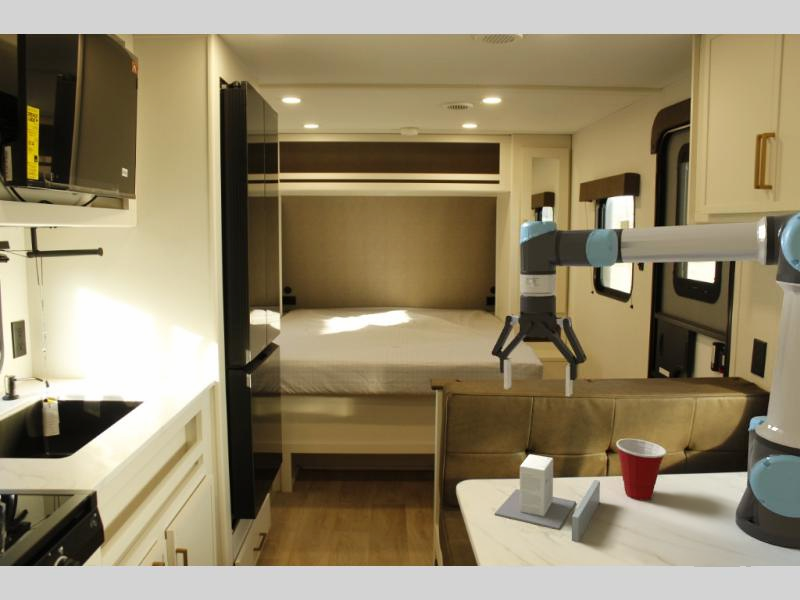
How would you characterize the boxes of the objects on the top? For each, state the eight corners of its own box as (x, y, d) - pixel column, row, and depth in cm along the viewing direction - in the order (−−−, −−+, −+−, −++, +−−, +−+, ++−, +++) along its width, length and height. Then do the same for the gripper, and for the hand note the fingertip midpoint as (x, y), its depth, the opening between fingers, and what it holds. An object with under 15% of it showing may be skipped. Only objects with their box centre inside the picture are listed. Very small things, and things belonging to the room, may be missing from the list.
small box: (528, 497, 137) (529, 453, 136) (553, 502, 134) (553, 457, 133) (518, 512, 130) (518, 465, 129) (544, 517, 127) (544, 470, 126)
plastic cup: (670, 507, 132) (672, 455, 130) (618, 503, 134) (620, 452, 132) (659, 487, 142) (660, 438, 141) (611, 484, 144) (612, 436, 143)
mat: (575, 503, 134) (575, 501, 134) (558, 529, 122) (558, 527, 122) (516, 490, 141) (516, 489, 141) (494, 514, 129) (494, 513, 129)
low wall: (599, 502, 135) (599, 480, 134) (577, 541, 118) (578, 517, 117) (594, 500, 135) (594, 479, 135) (571, 540, 118) (572, 516, 118)
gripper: (476, 293, 130) (477, 388, 132) (594, 297, 117) (592, 402, 120) (489, 290, 136) (489, 381, 139) (602, 294, 124) (600, 393, 126)
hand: (537, 391), depth 129 cm, fingers open, 13 cm apart
